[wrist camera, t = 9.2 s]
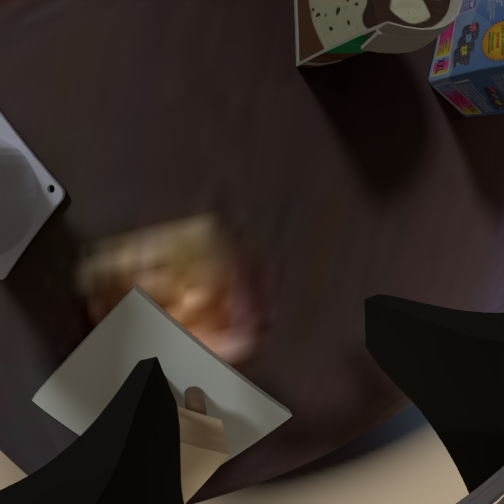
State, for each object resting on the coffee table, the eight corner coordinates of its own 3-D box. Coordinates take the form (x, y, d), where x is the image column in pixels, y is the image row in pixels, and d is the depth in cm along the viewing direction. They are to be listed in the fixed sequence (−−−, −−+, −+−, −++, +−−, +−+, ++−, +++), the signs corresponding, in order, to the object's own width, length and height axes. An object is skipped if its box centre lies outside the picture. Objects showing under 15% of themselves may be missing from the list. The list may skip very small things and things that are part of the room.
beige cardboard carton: (112, 438, 21) (104, 500, 15) (149, 362, 20) (143, 430, 14) (168, 456, 22) (171, 517, 16) (215, 387, 21) (229, 454, 15)
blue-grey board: (34, 394, 19) (31, 400, 19) (136, 284, 19) (134, 289, 18) (178, 483, 24) (178, 489, 24) (289, 409, 24) (292, 415, 24)
